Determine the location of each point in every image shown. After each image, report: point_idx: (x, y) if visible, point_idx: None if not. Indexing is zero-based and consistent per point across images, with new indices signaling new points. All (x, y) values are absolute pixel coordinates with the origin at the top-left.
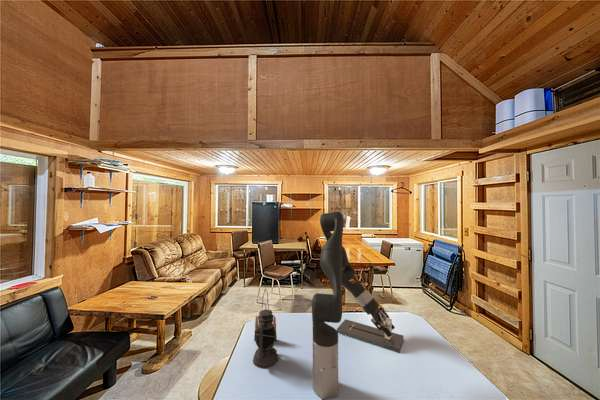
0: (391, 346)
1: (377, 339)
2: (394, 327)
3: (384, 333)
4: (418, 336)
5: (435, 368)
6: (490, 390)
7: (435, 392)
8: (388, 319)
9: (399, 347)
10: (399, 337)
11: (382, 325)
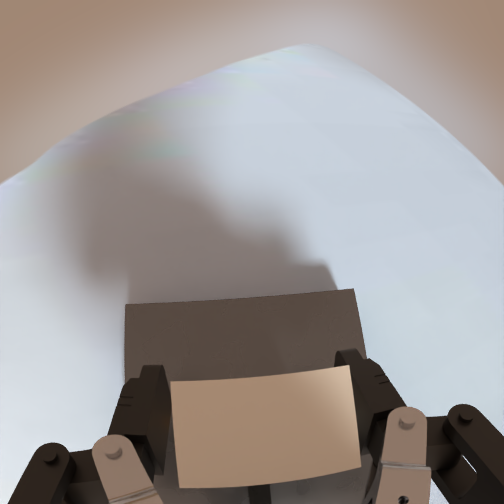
0: (364, 350)
1: (346, 480)
2: (155, 365)
3: None
4: (50, 236)
5: (330, 134)
6: (311, 45)
7: (454, 142)
8: (228, 435)
9: (339, 292)
10: (179, 329)
11: (466, 430)
